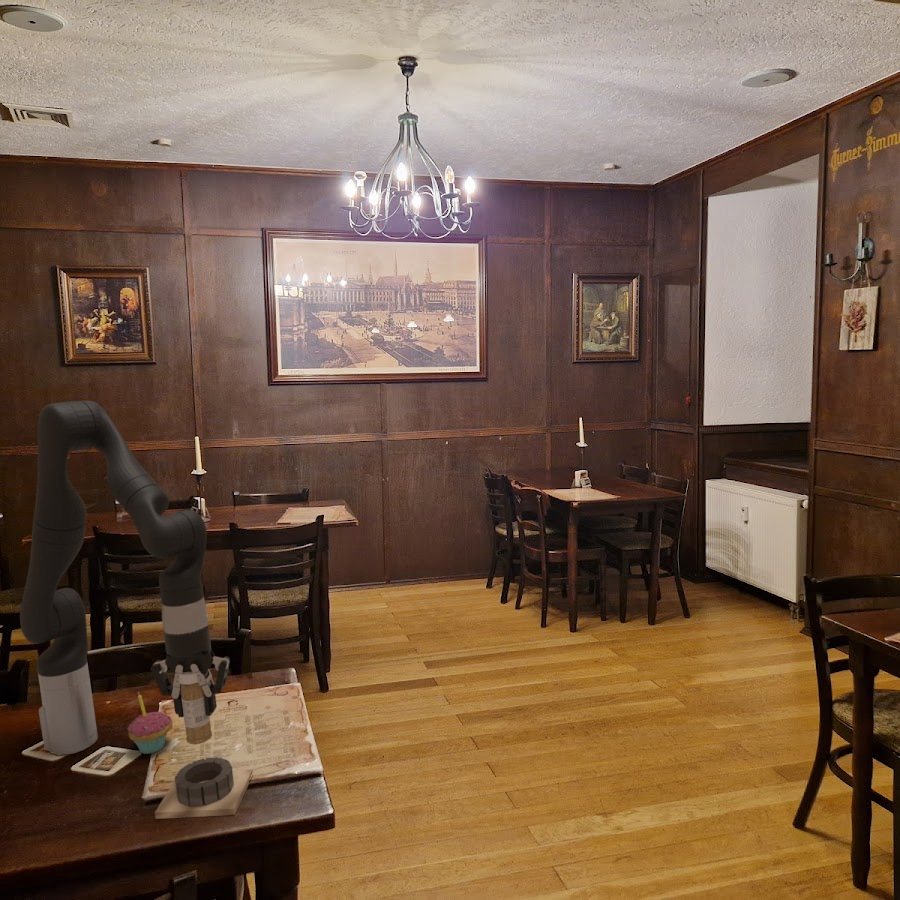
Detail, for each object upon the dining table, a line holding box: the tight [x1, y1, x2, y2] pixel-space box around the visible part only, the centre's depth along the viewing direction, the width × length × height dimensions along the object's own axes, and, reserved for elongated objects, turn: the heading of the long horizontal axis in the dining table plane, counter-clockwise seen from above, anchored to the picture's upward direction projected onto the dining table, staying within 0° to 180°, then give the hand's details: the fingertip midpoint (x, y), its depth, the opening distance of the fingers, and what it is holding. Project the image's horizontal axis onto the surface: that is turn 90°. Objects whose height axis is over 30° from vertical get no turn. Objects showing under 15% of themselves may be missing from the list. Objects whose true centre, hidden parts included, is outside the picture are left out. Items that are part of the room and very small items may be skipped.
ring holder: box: [154, 756, 254, 820], centre depth 138 cm, size 14×12×5 cm
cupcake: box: [127, 691, 174, 755], centre depth 155 cm, size 9×8×12 cm
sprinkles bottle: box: [178, 672, 213, 745], centre depth 135 cm, size 5×5×14 cm
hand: (196, 714), depth 136 cm, fingers closed on sprinkles bottle, 4 cm apart
